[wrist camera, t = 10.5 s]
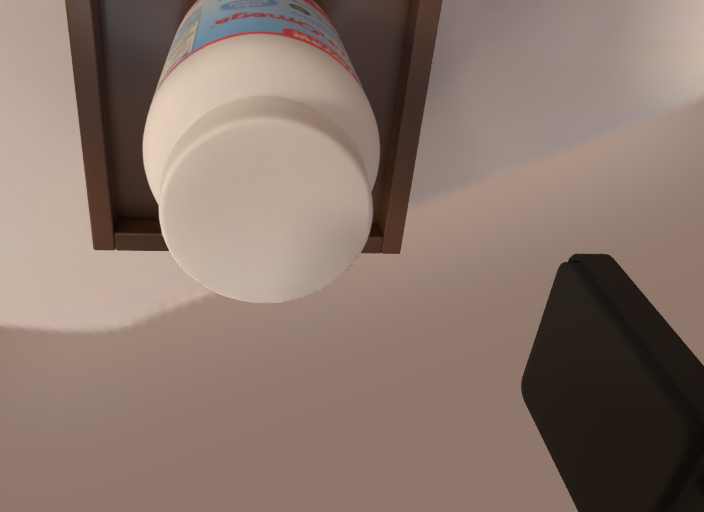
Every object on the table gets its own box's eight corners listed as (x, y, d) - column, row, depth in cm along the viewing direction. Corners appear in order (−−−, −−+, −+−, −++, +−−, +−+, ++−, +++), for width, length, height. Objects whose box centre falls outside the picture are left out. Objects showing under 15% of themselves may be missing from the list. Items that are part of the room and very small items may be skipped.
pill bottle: (373, 31, 24) (462, 164, 14) (291, 171, 26) (322, 362, 17) (215, -63, 22) (199, 22, 12) (141, 100, 24) (80, 276, 15)
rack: (103, -184, 27) (42, -189, 18) (397, -149, 29) (465, -138, 20) (128, 144, 34) (93, 250, 26) (361, 153, 36) (400, 254, 28)
